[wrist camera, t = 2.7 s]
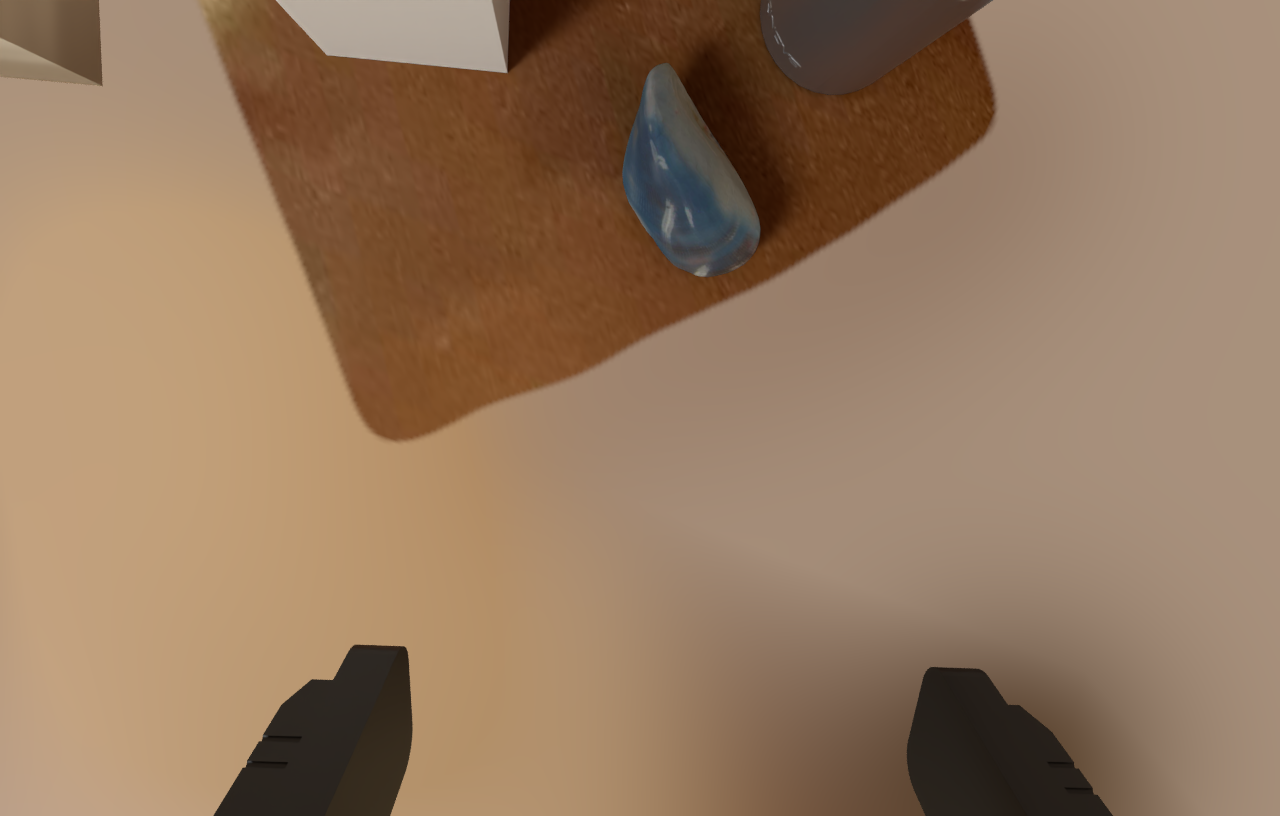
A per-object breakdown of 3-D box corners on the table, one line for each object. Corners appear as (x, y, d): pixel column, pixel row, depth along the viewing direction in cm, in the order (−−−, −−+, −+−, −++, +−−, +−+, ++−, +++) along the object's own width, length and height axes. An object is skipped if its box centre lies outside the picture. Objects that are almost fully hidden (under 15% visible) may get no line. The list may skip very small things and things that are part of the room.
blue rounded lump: (735, 304, 42) (809, 142, 36) (589, 249, 42) (639, 76, 36) (743, 257, 47) (810, 108, 41) (612, 208, 47) (660, 49, 41)
